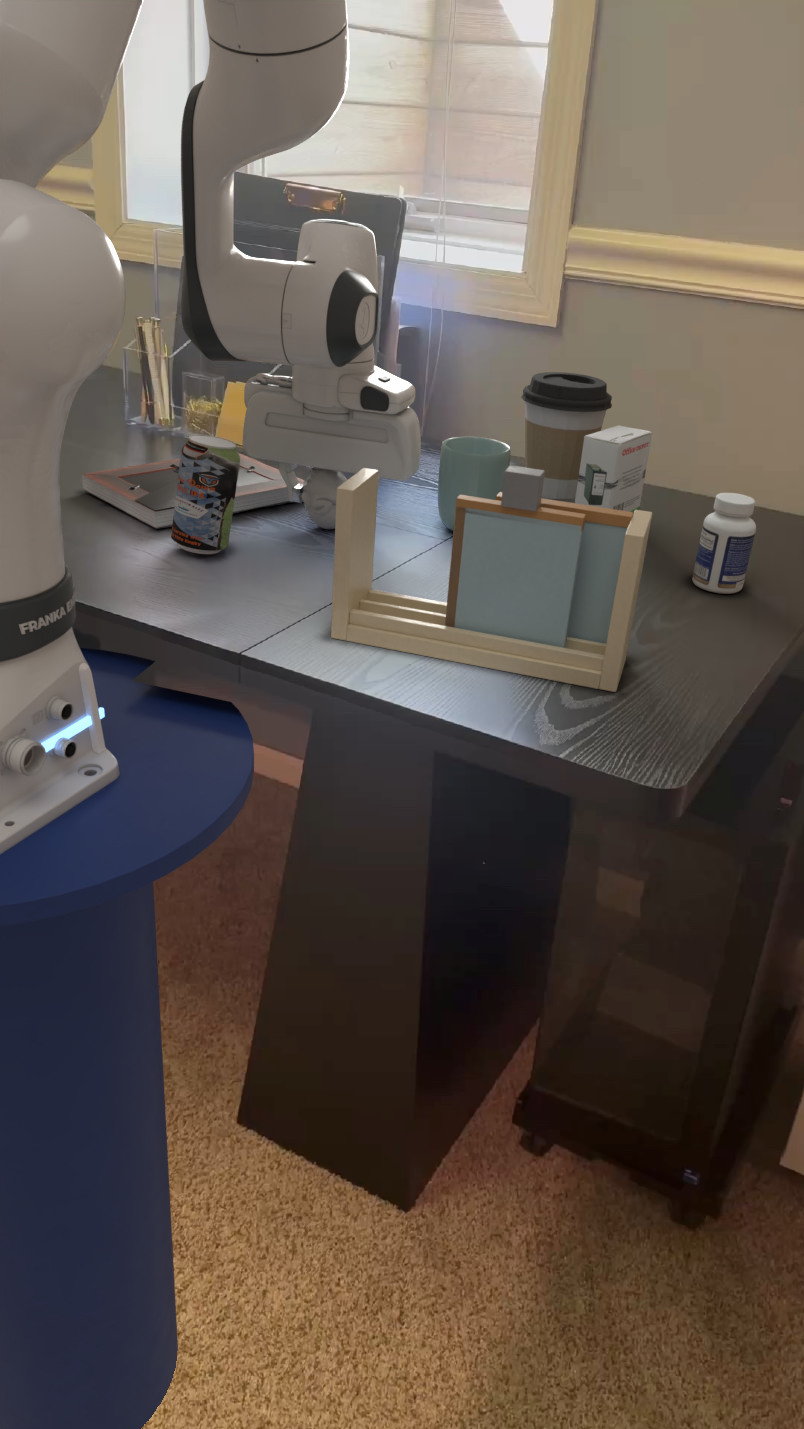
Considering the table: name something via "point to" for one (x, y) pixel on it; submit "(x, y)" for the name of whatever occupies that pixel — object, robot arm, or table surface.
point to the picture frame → (155, 488)
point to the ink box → (613, 468)
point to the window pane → (514, 563)
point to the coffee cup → (561, 427)
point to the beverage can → (205, 494)
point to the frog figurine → (322, 496)
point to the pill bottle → (725, 544)
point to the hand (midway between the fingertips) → (328, 506)
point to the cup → (469, 472)
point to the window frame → (421, 630)
